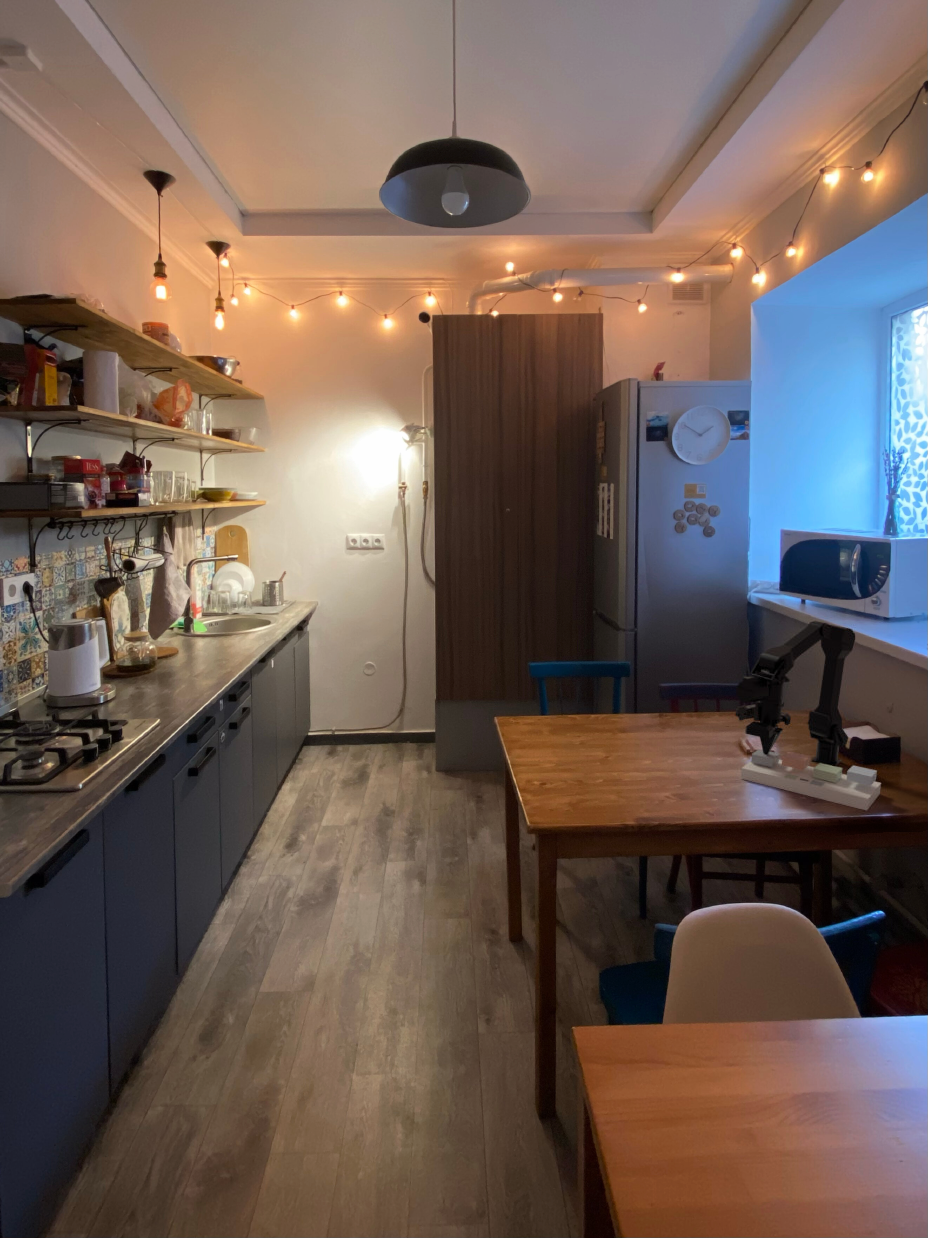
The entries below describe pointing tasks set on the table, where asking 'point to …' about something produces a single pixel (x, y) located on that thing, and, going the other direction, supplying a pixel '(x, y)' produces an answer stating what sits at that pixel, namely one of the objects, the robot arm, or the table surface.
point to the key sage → (827, 772)
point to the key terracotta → (796, 760)
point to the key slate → (765, 758)
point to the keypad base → (812, 784)
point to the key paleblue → (861, 775)
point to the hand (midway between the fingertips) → (765, 754)
